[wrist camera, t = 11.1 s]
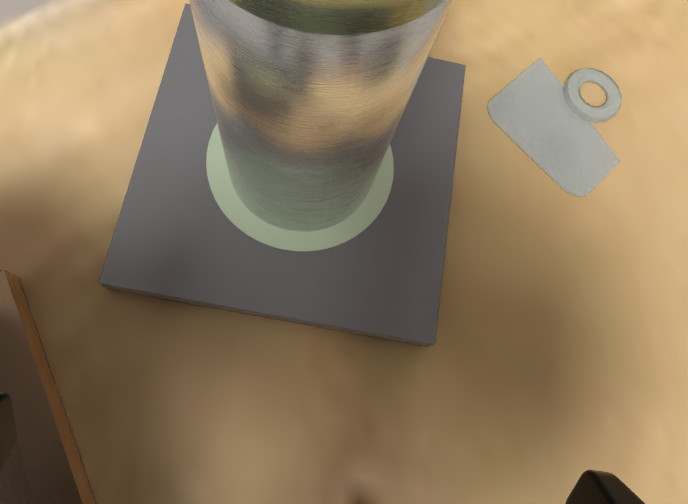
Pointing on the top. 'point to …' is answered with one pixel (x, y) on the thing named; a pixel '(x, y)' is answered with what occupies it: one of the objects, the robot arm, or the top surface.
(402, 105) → the canister
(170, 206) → the pad
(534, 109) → the mounting bracket
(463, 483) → the top surface
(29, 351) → the control unit
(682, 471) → the top surface
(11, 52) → the top surface
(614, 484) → the robot arm
